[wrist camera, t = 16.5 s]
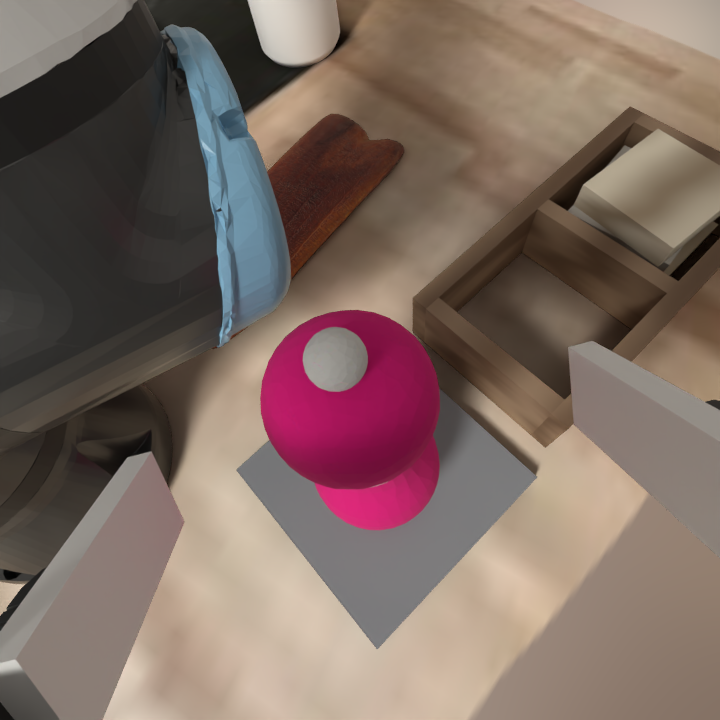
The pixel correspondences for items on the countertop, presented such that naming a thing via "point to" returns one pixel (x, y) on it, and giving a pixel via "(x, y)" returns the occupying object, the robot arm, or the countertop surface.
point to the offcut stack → (654, 200)
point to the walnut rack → (570, 264)
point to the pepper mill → (356, 415)
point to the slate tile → (405, 542)
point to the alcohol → (296, 30)
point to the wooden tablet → (326, 182)
